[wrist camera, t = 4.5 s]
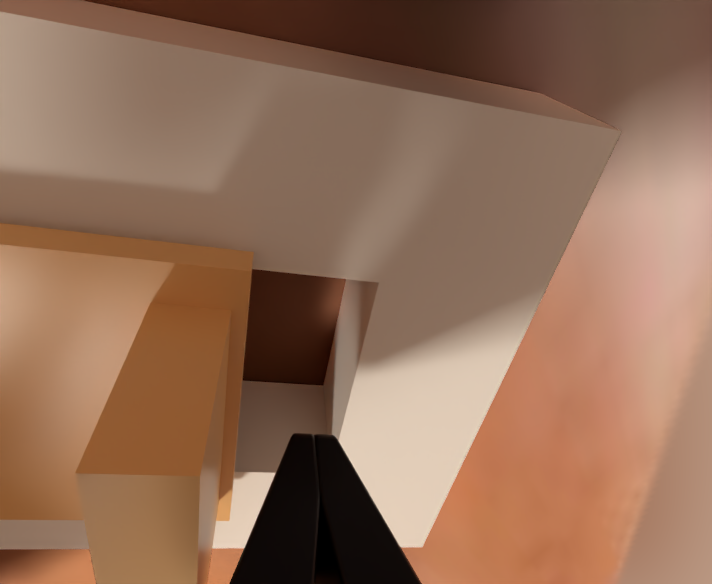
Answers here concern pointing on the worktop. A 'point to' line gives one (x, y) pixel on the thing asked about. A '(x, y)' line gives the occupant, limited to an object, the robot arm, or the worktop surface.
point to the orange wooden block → (122, 394)
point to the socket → (308, 220)
